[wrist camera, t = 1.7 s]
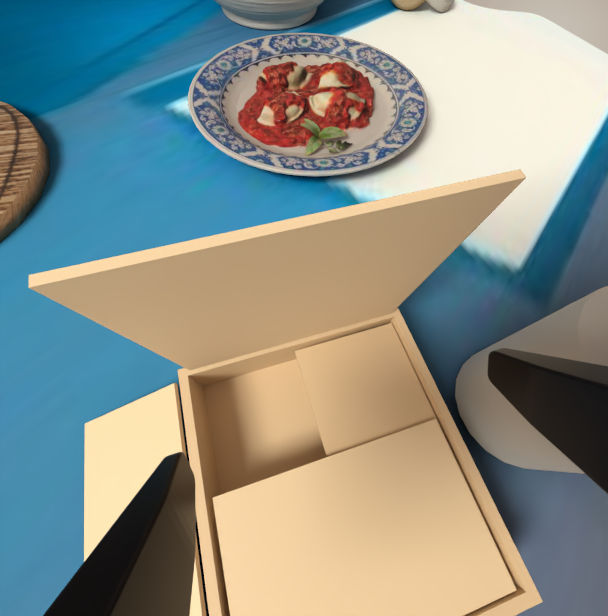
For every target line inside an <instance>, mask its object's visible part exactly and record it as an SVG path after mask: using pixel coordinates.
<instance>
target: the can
mask: <svg viewBox="0 0 608 616" xmlns="http://www.w3.org/2000/svg"><path fill="white" fill-rule="evenodd" d="M500 348H508V349H514V350H520V351H525V352H531V353H537V354H542V355H548V356H553V357H559V358H565V359H570V360H576V361H581V362H587V363H593V364H598V365H604V366H608V286H606V287H603V288H601V289H598V290H596V291H594V292H592V293H590V294H589V295H587V296H585V297H583V298H581V299H579V300H577V301H575V302H573V303H571V304H569V305H568V306H566V307H564V308H562V309H560V310H558V311H556V312H554V313H552V314H550V315H548V316H546V317H545V318H543V319H541V320H539V321H537V322H535V323H533V324H531V325H529V326H527V327H525V328H524V329H522V330H520V331H518V332H516V333H514V334H512V335H510V336H508V337H506V338H504V339H503V340H501V341H499V342H497V343H495V344H493V345H491V346H489V347H487V348H485V349H483V350H482V351H480V352H478V353H476V354H474V355H473V356H471V357H470V358H469V359H468V360H467V361H466V362H465V363H464V364H463V365H462V367H461V369H460V372H459V374H458V376H457V378H456V390H455V398H456V402H457V406H458V410H459V414H460V416H461V418H462V420H463V422H464V424H465V426H466V427H467V429H468V431H469V433H470V434H471V435H472V436H473V437H474V439H475V440H476V441H477V442H478V443H479V444H480V445H481V446H482V447H483V448H484V449H485V450H486V451H487V452H489V453H490V454H492V455H493V456H495V457H496V458H498V459H499V460H501V461H503V462H505V463H508V464H511V465H514V466H517V467H520V468H524V469H535V470H547V471H559V472H570V473H582V474H585V473H584V472H583V471H582V470H581V469H580V468H578V467H577V466H576V465H575V464H574V463H573V462H572V461H571V460H570V459H568V458H567V457H566V456H565V455H564V454H563V453H562V452H561V451H559V450H558V449H557V448H556V447H555V446H554V445H553V444H552V443H551V442H549V441H548V440H547V439H546V438H545V437H544V436H543V435H542V434H541V433H539V432H538V431H537V430H536V429H535V428H534V427H533V426H532V425H531V424H530V423H529V422H528V421H527V420H526V419H525V418H524V417H523V416H522V415H521V414H520V413H519V412H518V411H517V410H516V409H515V408H514V406H513V405H512V404H511V403H510V402H509V401H508V400H507V399H506V398H505V397H504V396H503V395H502V394H501V393H500V392H499V391H498V390H497V388H496V387H495V386H494V385H493V384H492V383H491V382H490V380H489V378H488V375H487V371H488V355H489V353H490V352H491V351H494V350H497V349H500Z"/></svg>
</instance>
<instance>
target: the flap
mask: <svg viewBox="0 0 608 616" xmlns="http://www.w3.org/2000/svg"><path fill="white" fill-rule="evenodd" d="M525 178H526V176H525V175H524V174H523V172H522V171H521V169H519V170H515V171H510V172H506V173H501V174H496V175H492V176H487V177H482V178H478V179H473V180H468V181H464V182H459V183H455V184H450V185H445V186H441V187H436V188H431V189H427V190H422V191H417V192H413V193H408V194H403V195H399V196H394V197H390V198H385V199H380V200H376V201H371V202H366V203H362V204H357V205H352V206H348V207H343V208H338V209H334V210H329V211H325V212H320V213H315V214H311V215H306V216H301V217H297V218H292V219H287V220H283V221H278V222H273V223H269V224H264V225H260V226H255V227H250V228H246V229H241V230H236V231H232V232H227V233H222V234H218V235H213V236H208V237H204V238H199V239H195V240H190V241H185V242H181V243H176V244H171V245H167V246H162V247H157V248H153V249H148V250H143V251H139V252H134V253H130V254H125V255H120V256H116V257H111V258H106V259H102V260H97V261H92V262H88V263H83V264H79V265H74V266H69V267H65V268H60V269H55V270H51V271H46V272H41V273H37V274H32V275H29V288H30V289H32V290H34V291H36V292H38V293H40V294H42V295H44V296H46V297H48V298H50V299H52V300H54V301H56V302H58V303H60V304H62V305H64V306H66V307H67V308H69V309H71V310H73V311H75V312H77V313H79V314H81V315H83V316H85V317H87V318H89V319H91V320H93V321H95V322H97V323H99V324H101V325H103V326H105V327H106V328H108V329H110V330H112V331H114V332H116V333H118V334H120V335H122V336H124V337H126V338H128V339H130V340H132V341H134V342H136V343H138V344H140V345H142V346H143V347H145V348H147V349H149V350H151V351H153V352H155V353H157V354H159V355H161V356H163V357H165V358H167V359H169V360H171V361H173V362H175V363H177V364H179V365H181V366H182V367H184V368H186V369H188V370H193V369H197V368H200V367H204V366H207V365H211V364H214V363H218V362H221V361H225V360H228V359H232V358H235V357H239V356H243V355H246V354H250V353H253V352H257V351H260V350H264V349H267V348H271V347H274V346H278V345H281V344H285V343H288V342H292V341H296V340H299V339H303V338H306V337H310V336H313V335H317V334H320V333H324V332H327V331H331V330H334V329H338V328H341V327H345V326H349V325H352V324H356V323H359V322H363V321H366V320H370V319H373V318H377V317H380V316H384V315H387V314H391V313H392V312H393V311H394V310H395V309H396V308H397V307H398V306H399V305H400V304H401V303H402V302H403V301H404V300H405V299H406V298H407V297H408V296H409V295H410V294H411V293H412V292H413V291H414V290H415V289H416V288H417V287H418V286H419V285H420V284H421V283H422V282H423V281H424V280H425V279H426V278H427V277H428V276H429V275H430V274H431V273H432V272H433V271H434V270H435V269H436V268H437V267H438V266H439V265H440V264H441V263H442V262H443V261H444V260H445V259H446V258H447V257H448V256H449V255H450V254H451V253H452V252H453V251H454V250H455V249H456V248H457V247H458V246H459V245H460V244H461V243H462V242H463V241H464V240H465V239H466V238H467V237H468V236H469V235H470V234H471V233H472V232H473V231H474V230H475V229H476V228H477V227H478V226H479V225H480V224H481V223H482V222H483V221H484V220H485V219H486V218H487V217H488V216H489V215H490V214H491V213H492V212H493V211H494V210H495V209H496V208H497V206H498V205H499V204H500V203H501V202H502V201H503V200H504V199H505V198H506V197H507V196H508V195H509V194H510V193H511V192H512V191H513V190H514V189H515V188H516V187H517V186H518V185H519V184H520V183H521V182H522V181H523V180H524V179H525Z"/></svg>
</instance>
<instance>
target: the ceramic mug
mask: <svg viewBox="0 0 608 616" xmlns="http://www.w3.org/2000/svg"><path fill="white" fill-rule="evenodd" d="M391 1H392V3H393V4H394V5H395V6H396V7H398V8H399V9H403V10H412V9H415V8H416V7H418V6H420V5H421V4H422V3H423V2H425V1H427V2H428V4H429V5H430V6H431V7H433V8H434V9H435V10H437V11H439V12H446V11H447V10H448V8H449V7H450V6H451V4H452V3H453V1H454V0H391Z"/></svg>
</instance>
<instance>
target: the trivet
mask: <svg viewBox="0 0 608 616" xmlns="http://www.w3.org/2000/svg"><path fill="white" fill-rule="evenodd" d="M49 174H50V157H49V149H48V147H47V145H46V144H45V142H44V140H43V138H42V136H41V135H40V133H39V132H38V130H37V129H36V128H35V127H34V125H33V124H32V123H31V122H30V120H29V119H28V118H27V117H26V116H24V115H23V114H22V113H20V112H19V111H18V110H16V109H15V108H14V107H12V106H11V105H9V104H6V103H4V102H1V101H0V242H1V241H3V240H4V239H5V238H6V237H7V236H8V235H9V234H10V233H12V232H13V231H14V230H15V229H16V228H17V227H18V226H19V225H21V223H22V222H23V221H24V219H25V218H26V217H27V215H28V214H29V212H30V211H31V210H32V208H33V207H34V206H35V204H36V203H37V202H38V200H39V199H40V198H41V195H42V193H43V190H44V187H45V185H46V182H47V179H48V176H49Z"/></svg>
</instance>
